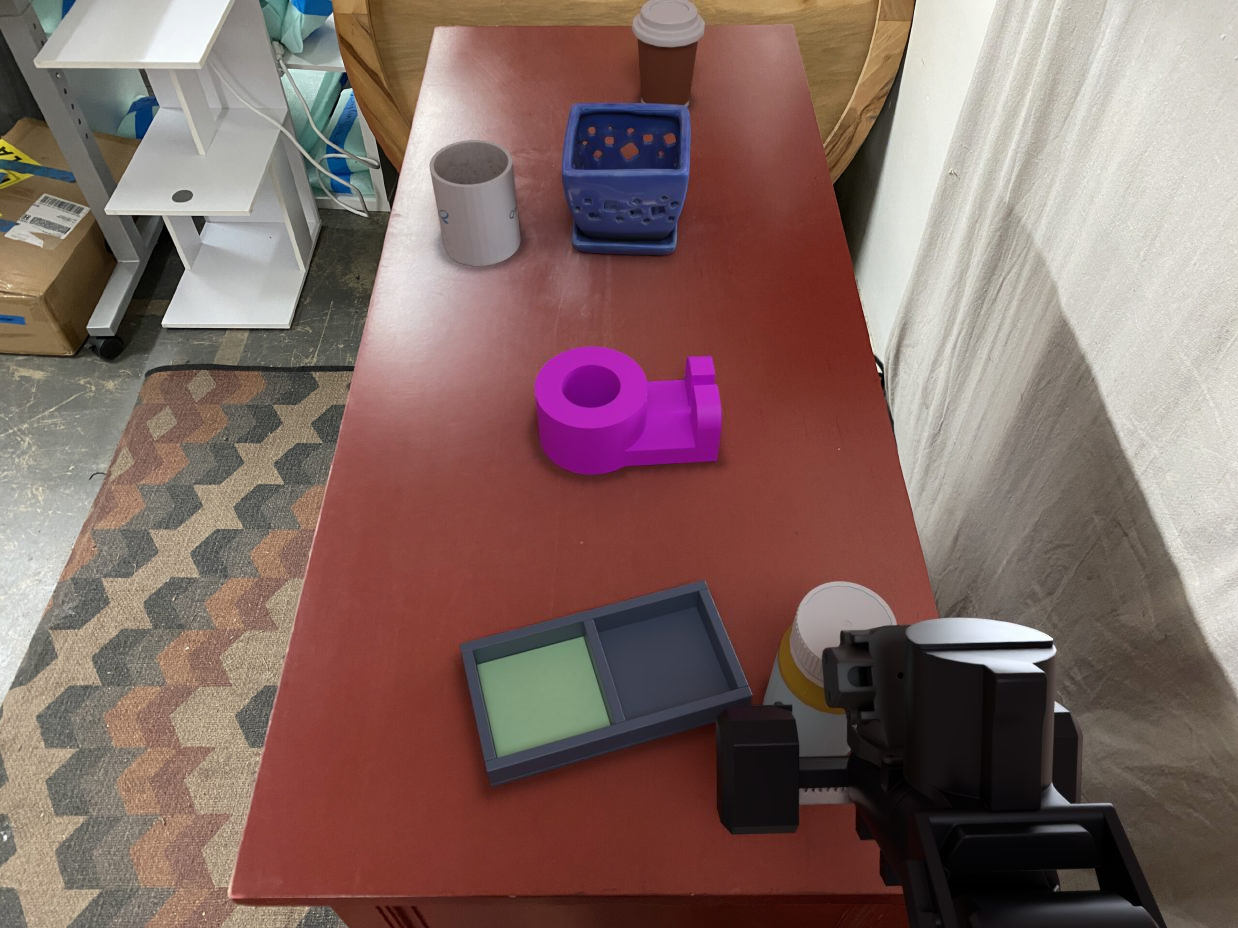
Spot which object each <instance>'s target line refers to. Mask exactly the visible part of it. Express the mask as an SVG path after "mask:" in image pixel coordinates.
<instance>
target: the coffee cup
mask: <svg viewBox="0 0 1238 928" xmlns="http://www.w3.org/2000/svg"><path fill="white" fill-rule="evenodd" d="M698 11H699V10H698V8H697V6H696V5H695V4H694V3H693V2H691V1H690V0H648V1H646V2H645V3H644V4H643V5H642V6H641V8H640V12H639V13H638V14H637V15H635V16H634V17H633V20H632V23H631V24H632V25H631V31H632V33H633V34H634V37H636V39H637V52H638V67H639V68H638V69H639V83H640V84H639V85H640V103H649V104H674V105H684V106H686V107H687V108H688V106H689V105H690V98H691V97H690V96H691V90H692V83H693V77H694V70H695V64H696V63H695V62H696V56H697V49H698V43H699V40H701V38H703V37H704V35H705V30H706V22H705V20H704V19H703V18H702V16H701V15H700V14H699V13H698Z"/></svg>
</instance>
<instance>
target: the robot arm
mask: <svg viewBox="0 0 1238 928" xmlns="http://www.w3.org/2000/svg"><path fill="white" fill-rule="evenodd" d="M822 668H823V681H824V695H825V700H826V704H827V706H828V707H830V708H843V709H844V710H845V712H846V718H847V744H848V746H849V747H850V749H851V750H850V754H847V755H839V756H803V757H799V738H798V731H797V725H796V719H795V717H794V715H793V714H792V704H787V705H784V704H783V703H782V702H774V704H773V705H763V704H756V705H754V704H753V705H751V704H750V706H746V707H734V708H725V709H724V710H723V711H722V712H721V713H720V714H719V715H718V716H717V717H716V722H715V758H716V760H715V763H716V764H715V765H716V766H715V767H716V768H715V770H716V771H715V772H716V773H715V775H716V776H715V778H716V779H715V781H716V811H717V815H718V818H719V823H720V824H721V825H722V826H723V828H724V829H726V831H727V832H728V833H729V834H730V835H731V836H738V835H739V836H741V835H742V836H743V835H772V834H773V835H776V834H796V833H797V831H798V829H799V826H800V806H816V805H817V806H818V805H849V804H851V805H852V804H853V805H854V806H855V820H854V821H855V822H854V823H855V824H854V825H855V826H854V827H855V828H854V831H855V832H856V835H857V836H858V837H859V840H860V841H874V842H875V843H876V844H877V846H878V849H879V861H878V862H879V866H878V867H879V869H878V870H879V873H878V874H879V877H880V878H881V880H882V882H883V884H884V886H885V887H901V889H902V890H901V891H902V895H903V899H904V905H905V910H906V916H907V920H908V921H907V922H908V926H909V928H1168V927H1167V924H1166V922H1165V919H1164V916H1163V915H1162V913H1161V910H1160V908H1159V906H1158V903H1157V901H1156V899H1155V896H1154V894H1153V892H1152V889H1151V888H1150V885H1149V883H1148V880H1147V878H1146V876H1145V874H1144V871H1143V869H1142V867H1141V865H1140V863H1139V860H1138V859H1137V856H1136V853H1135V851H1134V849H1133V846H1132V844H1131V842H1130V839H1129V838H1128V837H1129V836H1128V835H1127V833H1126V831H1125V828H1124V826H1123V824H1122V822H1121V819H1120V817H1119V815H1118V812H1117V811H1116V808H1115V806H1114V804H1112V803H1110V802H1087V803H1086V802H1085V803H1083V802H1081V801H1082V780H1083V779H1082V775H1083V771H1082V770H1083V752H1084V750H1083V748H1084V734H1083V731H1082V728H1081V725H1080V723H1079V720H1078V719H1077V718H1076V717H1075V716H1074V714H1072V712H1071V711H1070V710H1068V709H1067V708H1066V707H1064V706H1063V705H1061V704H1060V703H1059V702H1057V701H1056V678H1057V677H1056V675H1057V648H1056V646H1055V644H1054V638H1053V637H1051V636H1049V634H1047V633H1045V632H1043V631H1040V630H1038V629H1035V628H1032V627H1029V626H1026V625H1021V624H1017V623H1013V622H1009V621H1002V620H995V619H987V618H977V617H942V618H931V619H926V620H921V621H918V622H915V623H913V624H897V625H886V626H881V627H876V628H871V629H866V630H841V632H840V644H839V646H838V647H828V648H825V649H824V650H823V653H822ZM1092 869H1094V872H1095V877H1096V881H1097V885H1098V888H1099V889H1087V890H1086V889H1085V890H1083V889H1081V890H1061V881H1060V878H1059V877H1060V876H1059V874H1058V871H1065V870H1071V871H1072V870H1092Z"/></svg>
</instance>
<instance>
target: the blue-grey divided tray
mask: <svg viewBox="0 0 1238 928" xmlns="http://www.w3.org/2000/svg"><path fill="white" fill-rule="evenodd" d="M459 646H460V652H461V658H462V661H463V667H464V671H465V675H466V681H467V685H468V690H469V695H470V699H471V704H472V709H473V714H474V718H475V724H476V728H477V733H478V738H479V743H480V746H481V747H480V748H481V751H482V757H483V761H484V766H485V770H486V774H487V777H488V781H489V784H490V787H491V788H495V787H498V786H501V785H505V784H509V783H512V782H515V781H519V780H522V779H525V778H529V777H533V776H536V775H539V774H542V773H547V772H549V771H553V770H556V769H560V768H563V767H567V766H569V765H573V764H576V763H577V764H578V763H580V762H584V761H587V760H591V759H594V758H598V757H602V756H605V755H607V754H611V753H614V752H618V751H622V750H625V749H628V748H631V747H635V746H639V745H642V744H645V743H650V742H652V741H656V740H659V739H662V738H666V737H669V736H673V735H676V734H679V733H682V732H687V731H689V730H690V731H691V730H693V729H697V728H700V727H704V726H707V725H711V724H714V723H716V717H717V716H718V715H719V714H720V713H721V712H722V711H723V710H724V709H725V708H734V707H746V706H751V702H752V699H753V693H752V690H751V688H750V686H749V682H748V681H747V678H746V675H745V673H744V671H743V668H742V666H741V664H740V661H739V659H738V656H737V654H736V652H735V649H734V647H733V644H732V642H731V639H730V637H729V635H728V633H727V630H726V627H725V625H724V623H723V620H722V618H721V615H720V614H719V611H718V607H717V606H716V604H715V602H714V599H713V597H712V594H711V591H710V589H709V587H708V584H707V582H706V579H703V580H698V581H694V582H690V583H686V584H682V585H679V586H675V587H672V588H667V589H664V590H660V591H657V592H652V593H649V594H645V595H641V596H636V597H633V598H630V599H626V600H622V601H618V602H615V603H611V604H606V605H603V606H600V607H595V608H592V609H588V610H585V611H579V612H576V613H572V614H568V615H564V616H561V617H557V618H553V619H549V620H545V621H541V622H539V623H535V624H530V625H527V626H523V627H519V628H515V629H511V630H508V631H504V632H500V633H496V634H492V635H489V636H485V637H480V638H477V639H473V640H469V641H466V642H465V641H464V642H461V643H459Z"/></svg>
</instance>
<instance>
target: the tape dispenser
mask: <svg viewBox="0 0 1238 928" xmlns="http://www.w3.org/2000/svg"><path fill="white" fill-rule="evenodd" d="M715 380H716V370H715V366H714V360H713V357H712V356H711V355H698V356H696V355H695V356H686V359H685V368H684V379H672V380H655V381H648V380H647V375H646V374H645V372H644V370H643V369H642V367H641V365H639V363H637V362H636V361H635V360H634V359H633V358H632V357H630V356H629V355H627V354H626V353H624V352H621V351H618V350H616V349H613V348H609V347H602V346H581V347H576V348H571V349H568V350H565V351H563V352H560V353H559V354H556V355H555V356H553V357H552V358H550V359H549V360H548V361H547V362H546V363H545V364H544V365H543V366H542V367H541V369H540V370H539V371H538V373H537V376H536V379H535V382H534V396H535V397H534V398H535V408H536V417H537V427H538V437H539V443H540V446H541V449H542V450H543V452H544V454H545V455H546V456H547V458H548V459H549V460H550V461H551V462H552V463H554V464H555V465H557V466H558V467H560V468H561V469H563V470H566V471H568V472H571V473H576V474H582V475H590V476H591V475H603V474H609V473H612V472H614V471H618V470H620V469H623V468H624V467H633V466H637V467H638V466H651V465H654V466H655V465H671V464H672V465H673V464H687V463H705V462H718V458H719V457H718V455H719V447H720V441H721V435H722V434H721V432H722V425H723V424H722V422H723V421H722V420H723V419H722V418H723V417H722V414H723V413H722V403H721V396H720V392H719V387H718V386H719V385H718V384H716V383H715Z"/></svg>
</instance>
